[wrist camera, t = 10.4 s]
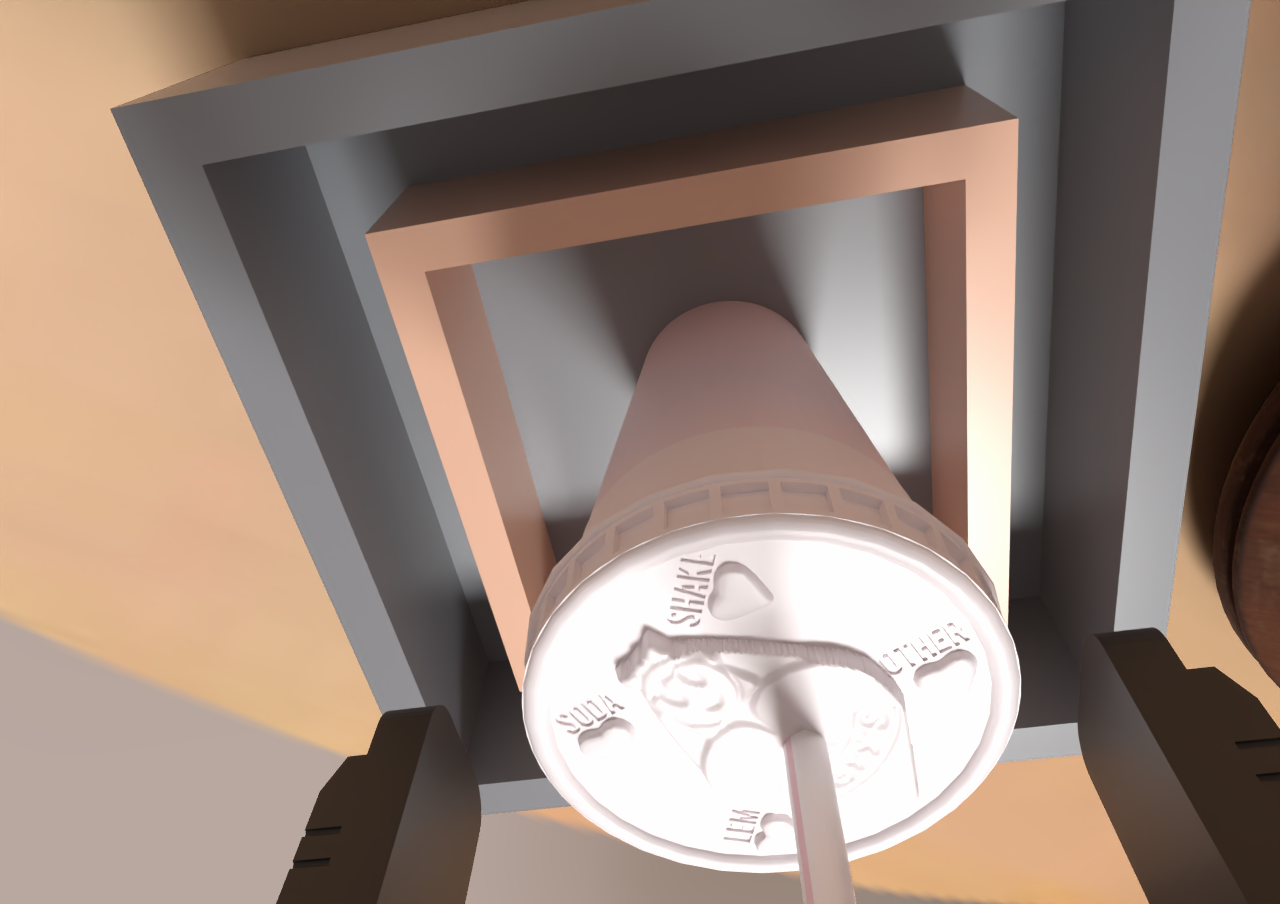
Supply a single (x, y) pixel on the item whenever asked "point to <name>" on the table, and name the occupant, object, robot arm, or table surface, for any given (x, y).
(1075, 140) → the socket box
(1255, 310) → the table surface
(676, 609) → the smoothie
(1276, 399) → the scroll
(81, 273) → the table surface
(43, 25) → the table surface
